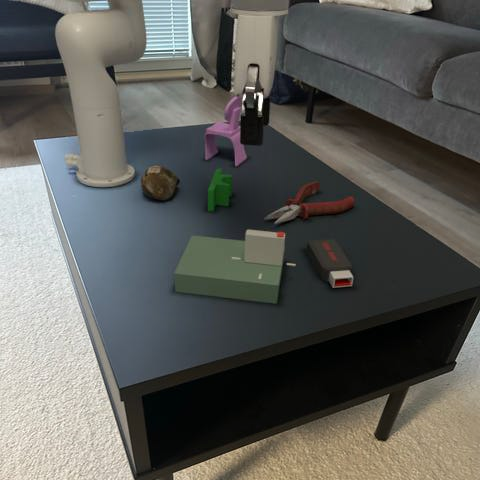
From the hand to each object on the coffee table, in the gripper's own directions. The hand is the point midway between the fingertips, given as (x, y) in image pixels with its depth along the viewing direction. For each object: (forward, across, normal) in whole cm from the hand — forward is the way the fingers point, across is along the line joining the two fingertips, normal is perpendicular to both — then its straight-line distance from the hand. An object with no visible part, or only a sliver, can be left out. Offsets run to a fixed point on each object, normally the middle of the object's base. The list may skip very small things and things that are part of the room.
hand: (255, 134), depth 75 cm
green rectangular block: (+21, +8, -1) cm, 22 cm away
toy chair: (+20, -43, -12) cm, 49 cm away
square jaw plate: (+17, +8, +3) cm, 19 cm away
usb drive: (+21, +2, +14) cm, 25 cm away
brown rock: (+20, -20, -22) cm, 36 cm away
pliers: (+21, -20, +8) cm, 30 cm away
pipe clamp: (+20, -20, -9) cm, 30 cm away
